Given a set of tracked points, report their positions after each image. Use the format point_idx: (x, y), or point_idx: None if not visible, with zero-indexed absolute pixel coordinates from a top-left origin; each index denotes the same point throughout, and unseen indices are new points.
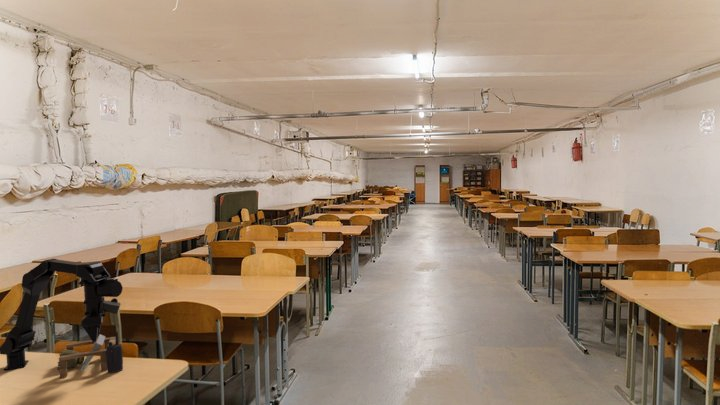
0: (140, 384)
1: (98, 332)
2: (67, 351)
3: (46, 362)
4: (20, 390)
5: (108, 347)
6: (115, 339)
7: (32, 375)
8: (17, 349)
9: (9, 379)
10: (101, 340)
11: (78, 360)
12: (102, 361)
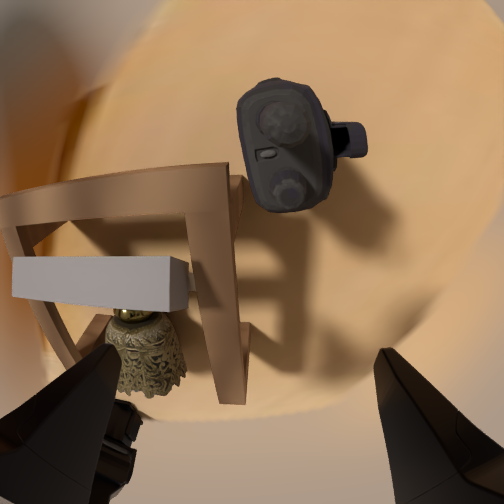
0: (475, 52)
1: (110, 357)
2: (140, 379)
3: None
4: (297, 397)
5: (317, 199)
6: (17, 193)
7: (190, 391)
8: (111, 443)
9: (201, 418)
10: (82, 275)
11: (151, 316)
12: (238, 211)
